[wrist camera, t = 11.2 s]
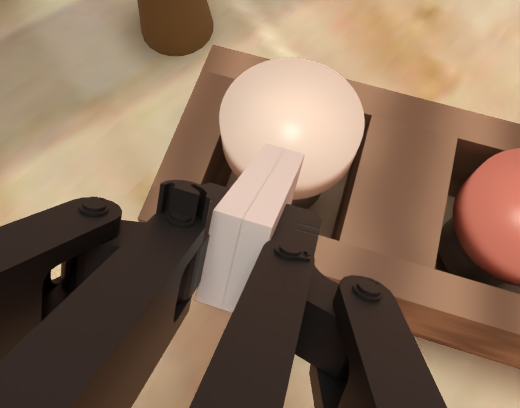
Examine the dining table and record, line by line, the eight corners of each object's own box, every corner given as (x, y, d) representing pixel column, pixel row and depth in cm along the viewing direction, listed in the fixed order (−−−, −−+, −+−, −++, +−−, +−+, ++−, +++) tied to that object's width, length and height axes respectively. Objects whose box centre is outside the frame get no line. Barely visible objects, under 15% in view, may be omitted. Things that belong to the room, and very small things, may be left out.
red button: (413, 284, 29) (458, 254, 23) (432, 186, 32) (477, 133, 25) (527, 319, 29) (607, 298, 22) (537, 215, 31) (612, 168, 25)
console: (164, 258, 32) (137, 218, 25) (221, 114, 37) (212, 44, 29) (549, 377, 30) (647, 373, 22) (562, 208, 34) (648, 157, 27)
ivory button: (211, 212, 28) (198, 159, 22) (247, 116, 31) (245, 43, 24) (324, 245, 28) (345, 201, 21) (351, 145, 30) (378, 77, 24)
